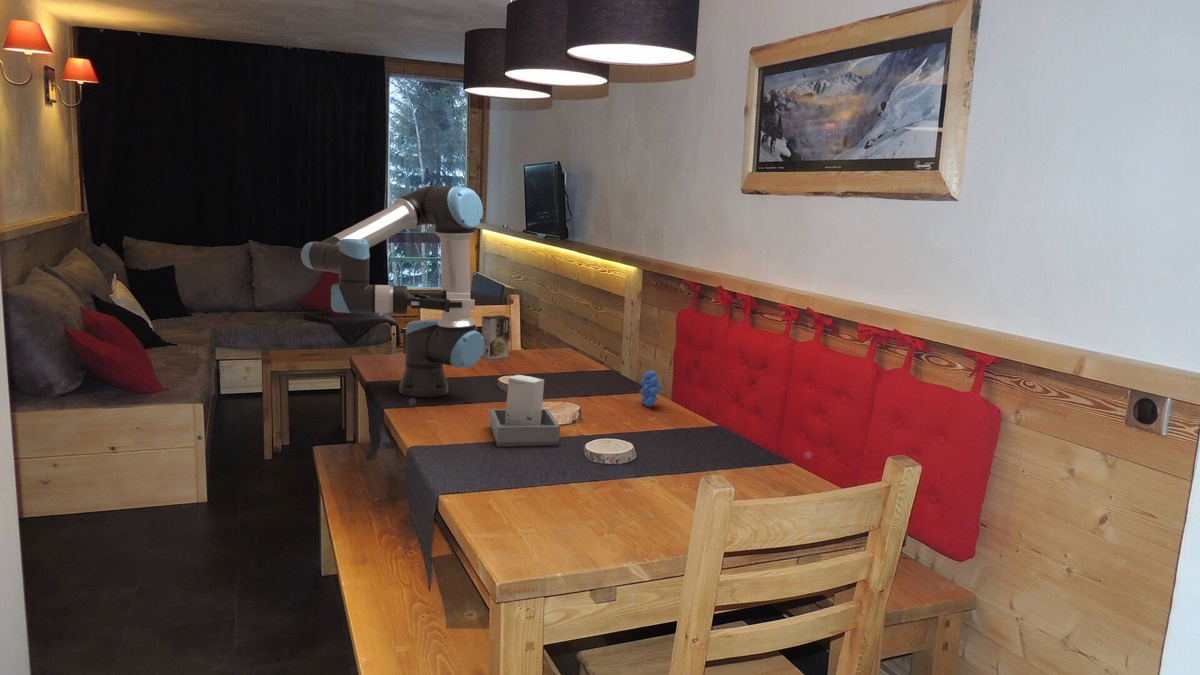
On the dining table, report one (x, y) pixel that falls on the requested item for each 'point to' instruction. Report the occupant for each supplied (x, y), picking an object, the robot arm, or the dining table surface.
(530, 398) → the skincare box
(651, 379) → the grapes
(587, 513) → the dining table surface
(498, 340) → the coffee box
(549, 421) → the tote
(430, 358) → the robot arm
